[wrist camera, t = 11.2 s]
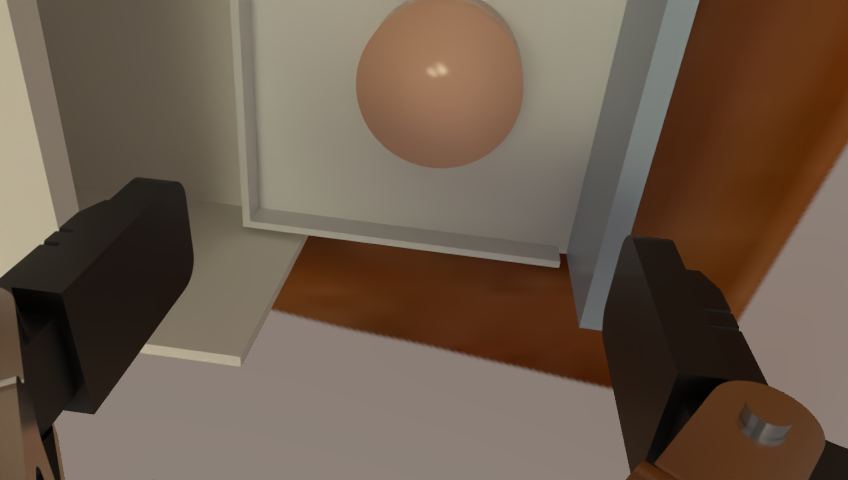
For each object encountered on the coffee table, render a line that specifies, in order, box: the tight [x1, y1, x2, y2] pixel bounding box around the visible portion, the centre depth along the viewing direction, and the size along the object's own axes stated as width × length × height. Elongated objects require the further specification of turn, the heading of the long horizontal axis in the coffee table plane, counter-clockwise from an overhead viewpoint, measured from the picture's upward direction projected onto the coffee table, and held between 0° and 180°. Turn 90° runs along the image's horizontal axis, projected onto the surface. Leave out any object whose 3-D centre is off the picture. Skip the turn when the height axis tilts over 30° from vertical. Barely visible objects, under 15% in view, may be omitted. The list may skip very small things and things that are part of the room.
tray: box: [230, 0, 699, 331], centre depth 22 cm, size 14×14×6 cm
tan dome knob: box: [356, 0, 523, 168], centre depth 23 cm, size 6×6×2 cm
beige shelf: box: [0, 0, 309, 367], centre depth 21 cm, size 16×15×12 cm
